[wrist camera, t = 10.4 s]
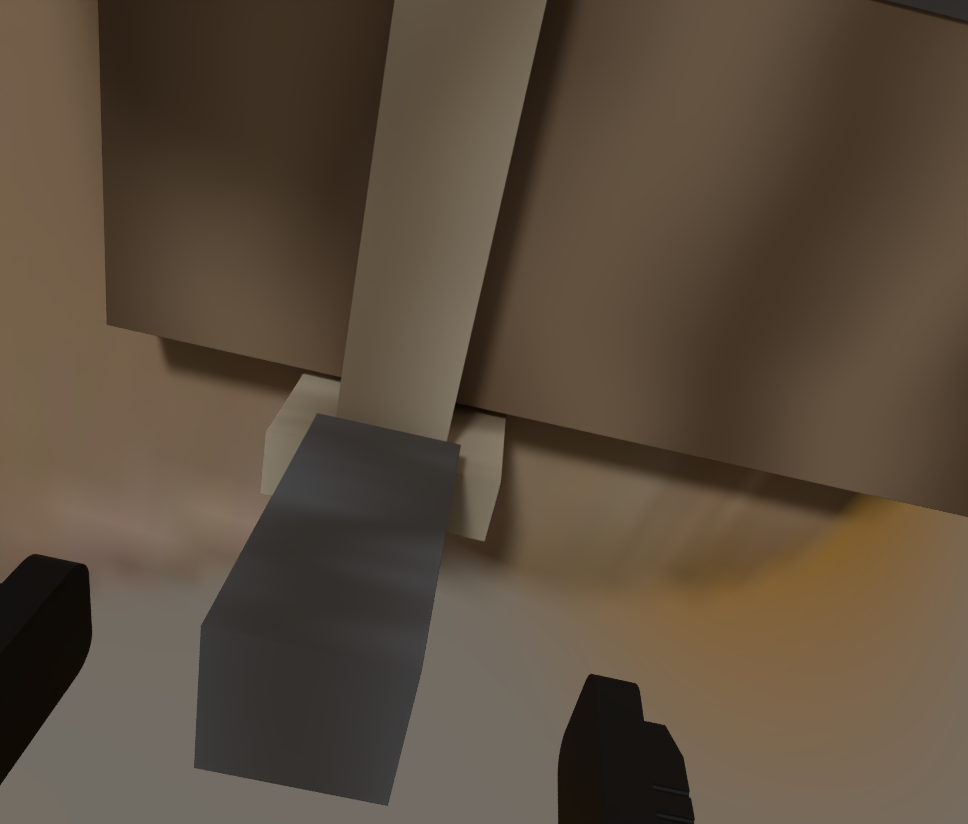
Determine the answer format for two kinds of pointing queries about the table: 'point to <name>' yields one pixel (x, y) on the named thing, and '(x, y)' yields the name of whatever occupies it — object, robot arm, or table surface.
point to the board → (590, 218)
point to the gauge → (376, 434)
